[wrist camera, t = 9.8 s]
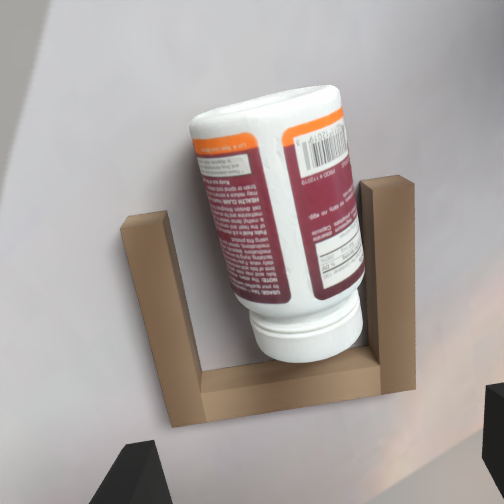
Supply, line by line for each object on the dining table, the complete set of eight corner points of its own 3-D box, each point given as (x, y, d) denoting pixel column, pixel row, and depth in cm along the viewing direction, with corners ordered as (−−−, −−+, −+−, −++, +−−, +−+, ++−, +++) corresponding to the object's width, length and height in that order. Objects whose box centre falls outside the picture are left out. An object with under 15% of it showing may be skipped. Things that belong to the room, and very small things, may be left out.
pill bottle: (199, 109, 16) (249, 309, 19) (171, 126, 12) (242, 381, 15) (330, 79, 16) (361, 290, 19) (352, 86, 11) (387, 359, 14)
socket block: (398, 174, 17) (414, 183, 16) (402, 368, 21) (415, 389, 19) (127, 216, 17) (120, 228, 16) (175, 403, 21) (171, 427, 19)
